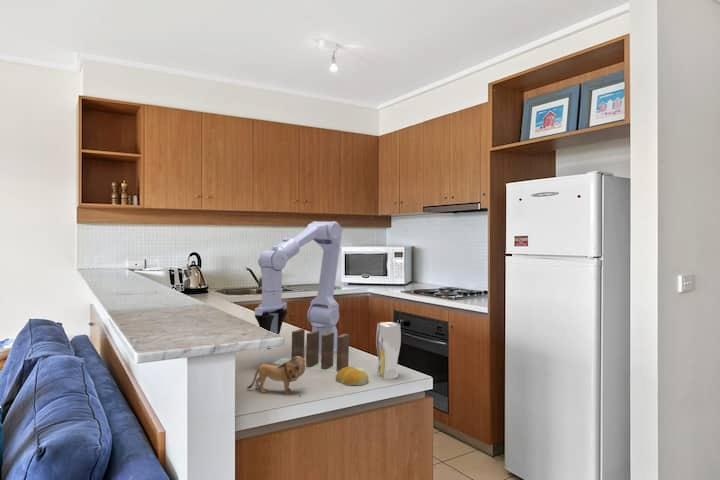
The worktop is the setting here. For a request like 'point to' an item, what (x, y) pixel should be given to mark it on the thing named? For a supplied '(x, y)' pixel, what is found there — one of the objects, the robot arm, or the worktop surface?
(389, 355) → the beer glass
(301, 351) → the domino
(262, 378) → the lion figurine
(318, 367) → the mat
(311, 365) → the domino
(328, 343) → the domino
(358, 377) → the bread roll
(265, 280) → the robot arm
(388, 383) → the worktop surface
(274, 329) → the domino
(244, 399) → the worktop surface
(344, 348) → the domino
